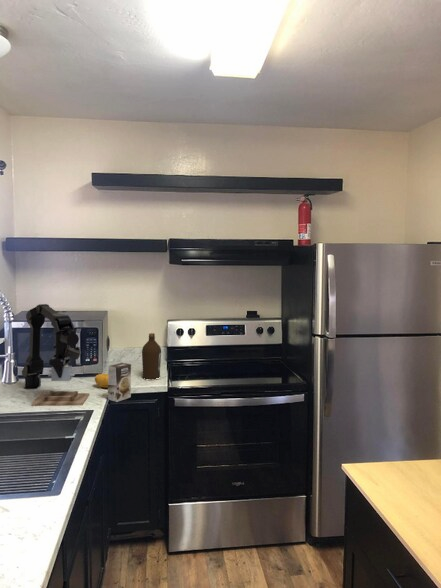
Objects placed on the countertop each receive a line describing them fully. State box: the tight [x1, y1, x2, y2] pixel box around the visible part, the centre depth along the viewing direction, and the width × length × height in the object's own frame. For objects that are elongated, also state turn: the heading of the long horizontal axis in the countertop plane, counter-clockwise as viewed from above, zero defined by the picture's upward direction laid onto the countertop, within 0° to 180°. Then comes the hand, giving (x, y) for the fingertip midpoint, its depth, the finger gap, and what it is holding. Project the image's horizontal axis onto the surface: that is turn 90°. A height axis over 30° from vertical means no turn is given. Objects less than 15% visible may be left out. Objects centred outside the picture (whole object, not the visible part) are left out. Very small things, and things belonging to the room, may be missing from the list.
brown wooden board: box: [31, 390, 90, 407], centre depth 201 cm, size 22×15×3 cm
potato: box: [94, 373, 108, 389], centre depth 223 cm, size 7×14×7 cm, turn 68°
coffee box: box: [107, 362, 132, 403], centre depth 205 cm, size 9×6×16 cm
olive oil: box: [141, 332, 162, 380], centre depth 242 cm, size 11×11×25 cm
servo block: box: [47, 364, 76, 382], centre depth 200 cm, size 11×4×7 cm, turn 96°
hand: (61, 376), depth 200 cm, fingers closed on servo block, 4 cm apart
